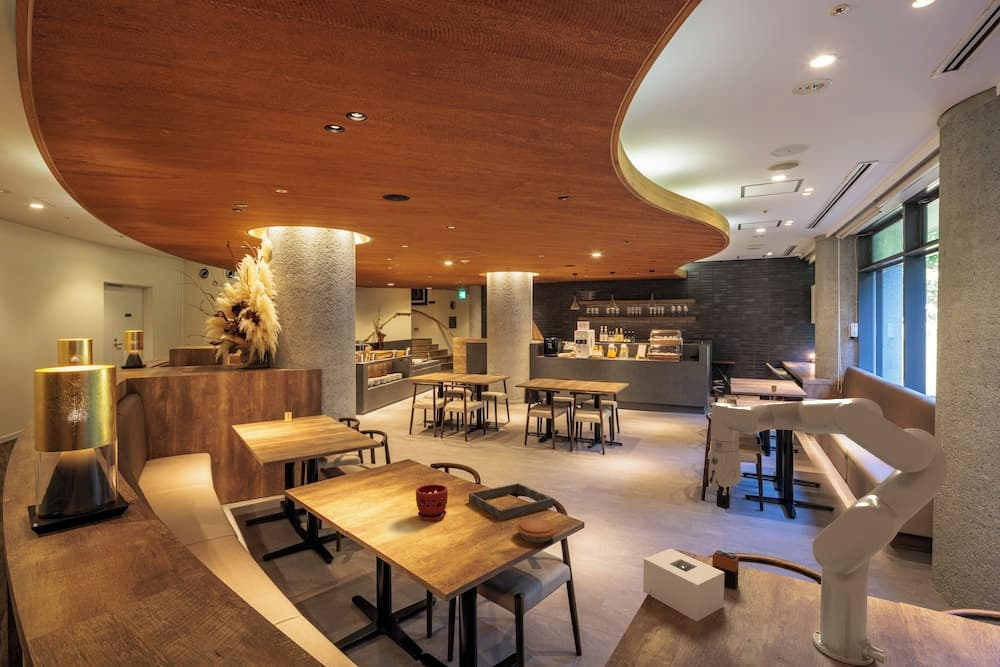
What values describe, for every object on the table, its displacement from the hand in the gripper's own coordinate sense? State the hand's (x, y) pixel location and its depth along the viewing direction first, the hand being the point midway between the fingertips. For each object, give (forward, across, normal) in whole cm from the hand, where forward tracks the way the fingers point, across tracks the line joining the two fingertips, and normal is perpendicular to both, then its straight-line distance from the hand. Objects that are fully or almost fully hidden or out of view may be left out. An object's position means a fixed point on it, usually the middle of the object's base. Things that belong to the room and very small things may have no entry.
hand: (722, 507), depth 145 cm
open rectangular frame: (+27, -8, +95) cm, 99 cm away
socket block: (+27, -10, +6) cm, 30 cm away
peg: (+25, -10, +6) cm, 28 cm away
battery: (+27, +9, +4) cm, 29 cm away
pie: (+28, -19, +63) cm, 71 cm away
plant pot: (+27, -44, +101) cm, 114 cm away
